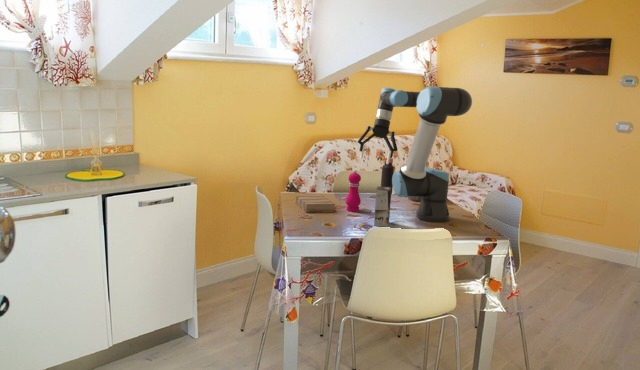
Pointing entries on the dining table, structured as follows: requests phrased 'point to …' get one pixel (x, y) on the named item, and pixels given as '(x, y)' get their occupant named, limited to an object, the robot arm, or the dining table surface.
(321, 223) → the dining table surface
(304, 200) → the wooden slatted trivet
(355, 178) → the pepper mill
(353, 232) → the dining table surface
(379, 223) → the coffee box
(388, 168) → the bottle
